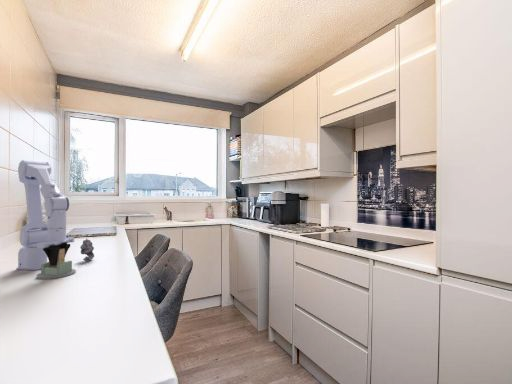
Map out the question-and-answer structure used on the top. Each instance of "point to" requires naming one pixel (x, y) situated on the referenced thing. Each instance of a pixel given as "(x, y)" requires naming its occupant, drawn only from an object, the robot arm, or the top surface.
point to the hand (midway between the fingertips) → (56, 264)
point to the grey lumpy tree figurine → (87, 249)
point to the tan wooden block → (60, 257)
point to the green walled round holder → (56, 270)
